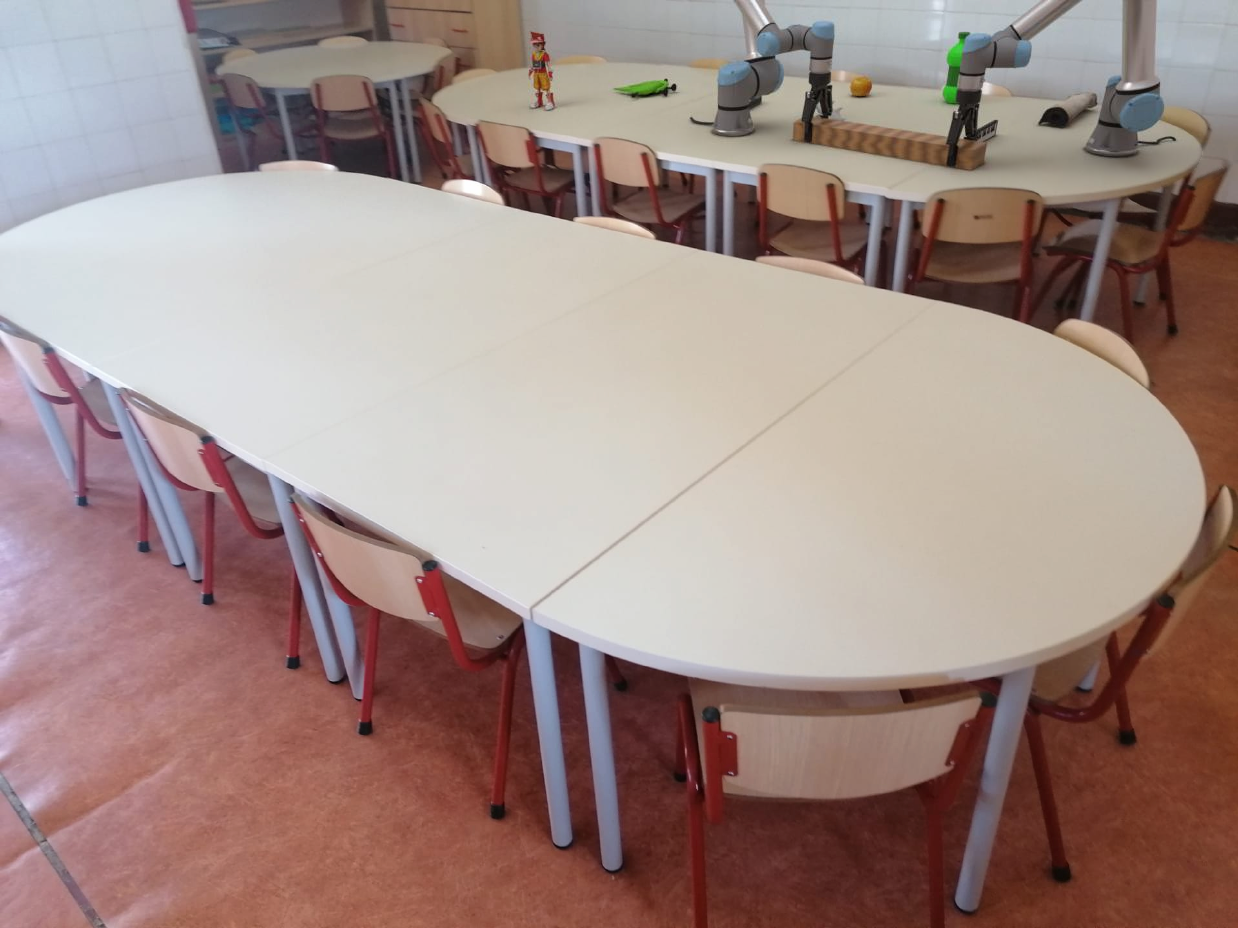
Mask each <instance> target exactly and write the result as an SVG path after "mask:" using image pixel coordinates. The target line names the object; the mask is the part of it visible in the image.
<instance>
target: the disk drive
mask: <svg viewBox="0 0 1238 928" xmlns="http://www.w3.org/2000/svg"><path fill="white" fill-rule="evenodd" d="M762 102H763V96H759V97H755V98H750V99H749V110H750V109H752V108H753V107H756V106H757V105H759V104H761V103H762Z"/></svg>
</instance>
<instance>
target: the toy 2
mask: <svg viewBox="0 0 1238 928" xmlns="http://www.w3.org/2000/svg"><path fill="white" fill-rule="evenodd" d="M669 85H670V83H669V79H668V78H664V79H663V80H649V81H644V82H640V83H634V84H629V85H627V86H621V87H613V88H612V89H613V90H616V91H619V92H623V93H627V94H628V93H629V94H631V95H630V96H631V98H632V99H634V98H636V96H637V95H650V94H652V93H654V94H658V93H662V95H663V96H665V97H667V96H668V95H669V90H671V91H672V92H676V91H677V84H676V83H672V84H671V86H669Z"/></svg>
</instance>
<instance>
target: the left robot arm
mask: <svg viewBox="0 0 1238 928" xmlns="http://www.w3.org/2000/svg"><path fill="white" fill-rule="evenodd" d="M732 1H733V2H734V4H735V5H736V7H737V9H738V10H739V12H740V13H741V18H742V25H743V32H744V33H743V34H744V40H745V41H744V42H745V49H746V55H745V57H744V59H743V60H742V61H741V60H740V61H739V60H738V61H732V62H728V63H726V64H723V65H722V66H720V68H718V73H717V74H718V75H717V111H716V114H715V118H714V120H713V121H700V120H696V119H694V118H693V116H689V119H690V120H691V122H692V123H694V124H697V125H704V126H712V133H713V134H715V135H717V136H721V137H741V136H746V135H750V134H752V133H754V127H755V126H754V122H753V118H752V115H751V111H750V109H749V99H750V98H755V97H759V96H762V97H764V96H769V95H770V94H771V95H772V94H774V93H775V92H777V91H779V89H780V88H781V86H782V85H783V82H784V78H785V71H784V70H785V69H784V66H783V64H782V63H781V61H780V60H779V59H777V58H776V56H778V55H783V54H786V53H792V52H797V51H805V52H809V53H810V54H809V68H808V69H809V73H808V84H809V85H810V86H811V87H810V90H809V91H805V93H804V94H805V95H804V104H803V109H802V114H801V118H802V119H801V118H800V119H801V121H802V122H805V133H804V141H806V142H805V143H808V142H812V129H813V123H811V122H812V119H813V117H815V116H814V115H815V112H816V110H817V109H816V106H817V104H818V103H819V102H820V106H821V110H822V114H821V115H820V118H827V119H828V116H831V115H832V112H833V109H834V108H833V107H834V106H833V105H832V101H833V85H832V84H831V82H832V81H831V80H832V72H831V71H832V67H833V55H834V54H833V53H834V45H835V44H834V43H835V24H834V22H832V21H829V20H819V21H815V22H813V23H812V25H811V26H808V25H803V24H790V25H789V26H788V27H787V28H783V29H782V28H781V29H780V27H779V25H778V24H777V23H776V21H775V20H774V18H773V17H772V15H771V14H770V12H769V10H768V8H767V7H766V2H765V0H732ZM829 108H830V109H829Z"/></svg>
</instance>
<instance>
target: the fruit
mask: <svg viewBox="0 0 1238 928" xmlns="http://www.w3.org/2000/svg"><path fill="white" fill-rule="evenodd" d="M872 88H873V84H872V81H871V79H870V78H868V77H866V76H859V77H856V78H854V79H853V80H852V81H851V82H850V86H849V89H850V90H849V91H850V92H851V94H852V95H853V96H855V97H865V96H868V95H869V94H870V93H871V91H872Z"/></svg>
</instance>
